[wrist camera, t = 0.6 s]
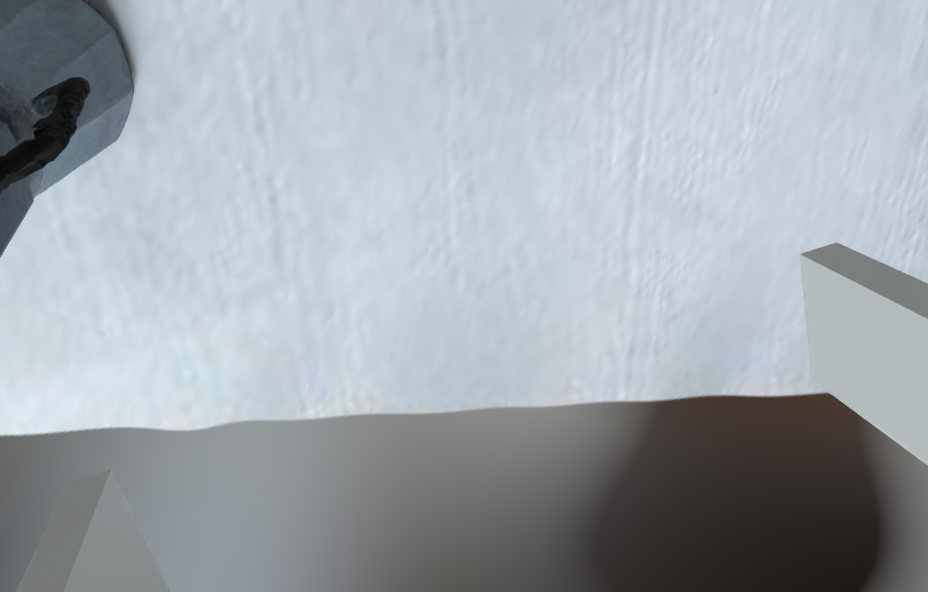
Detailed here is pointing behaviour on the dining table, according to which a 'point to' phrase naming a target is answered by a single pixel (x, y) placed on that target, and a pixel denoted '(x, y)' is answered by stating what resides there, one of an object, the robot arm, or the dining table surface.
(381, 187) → the dining table surface
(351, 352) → the dining table surface
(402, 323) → the dining table surface
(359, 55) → the dining table surface
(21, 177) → the moka pot
